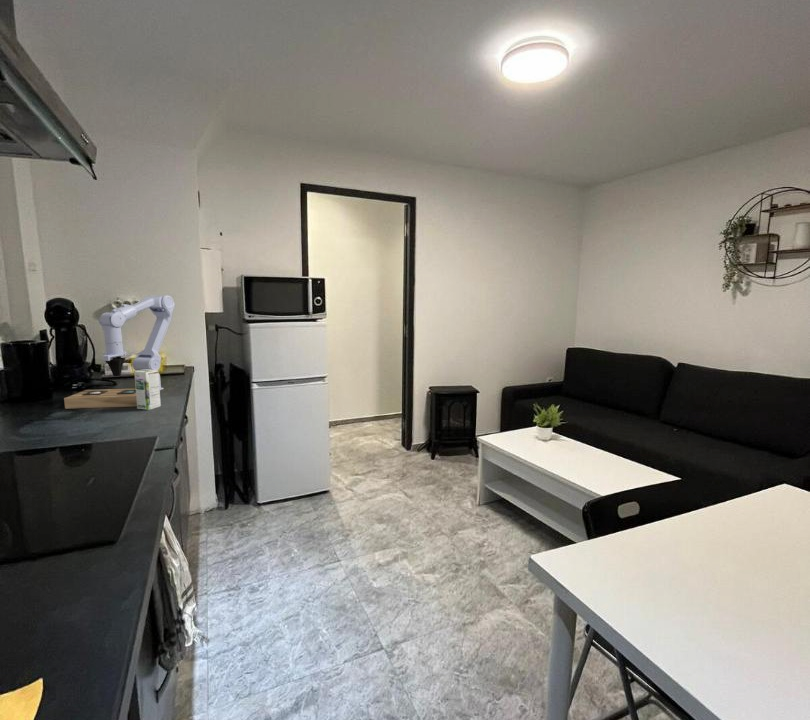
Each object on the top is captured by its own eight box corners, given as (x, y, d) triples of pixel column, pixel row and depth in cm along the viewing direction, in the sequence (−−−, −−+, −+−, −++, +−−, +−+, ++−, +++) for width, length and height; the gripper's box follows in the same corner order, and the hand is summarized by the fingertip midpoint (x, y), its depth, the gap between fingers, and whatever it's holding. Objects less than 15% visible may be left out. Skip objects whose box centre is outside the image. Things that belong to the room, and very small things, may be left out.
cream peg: (93, 402, 163) (92, 391, 163) (103, 401, 164) (102, 391, 163) (89, 404, 160) (87, 393, 159) (98, 403, 161) (97, 393, 160)
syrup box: (136, 409, 154) (132, 371, 152) (150, 405, 160) (147, 368, 158) (148, 410, 153) (144, 372, 151) (161, 406, 158) (158, 369, 156)
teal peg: (127, 401, 165) (126, 390, 165) (136, 400, 166) (135, 390, 165) (123, 403, 162) (122, 392, 162) (132, 402, 163) (131, 392, 162)
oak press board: (86, 399, 168) (85, 389, 167) (156, 397, 172) (155, 387, 172) (65, 408, 154) (63, 397, 153) (141, 406, 159) (140, 394, 158)
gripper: (112, 340, 171) (115, 372, 173) (92, 344, 157) (96, 379, 159) (130, 340, 172) (133, 372, 174) (112, 344, 158) (116, 379, 160)
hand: (117, 375), depth 166 cm, fingers closed
